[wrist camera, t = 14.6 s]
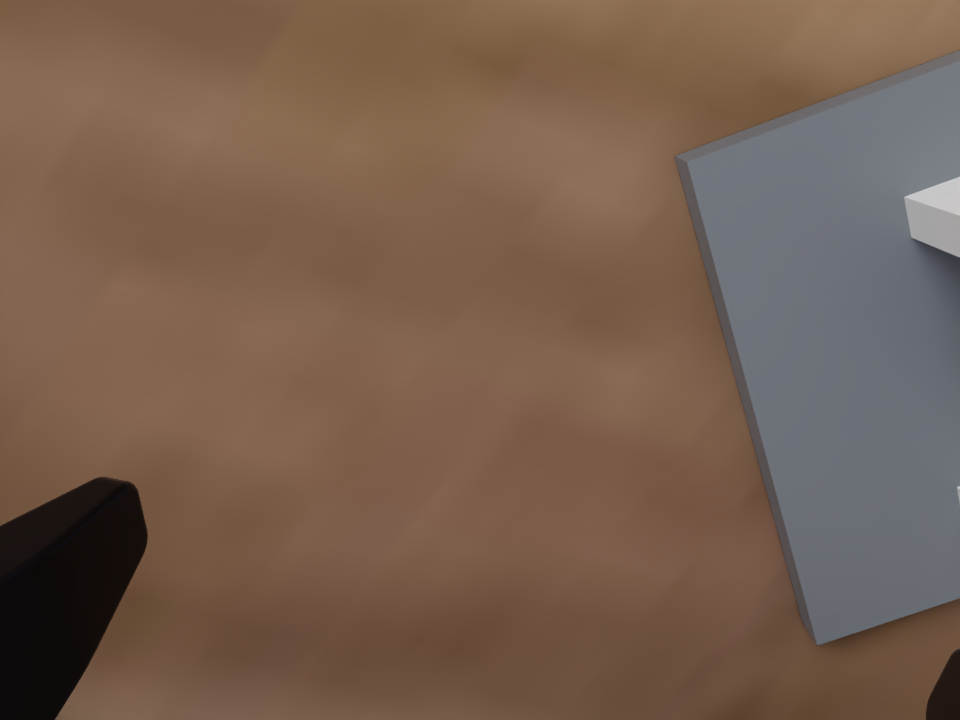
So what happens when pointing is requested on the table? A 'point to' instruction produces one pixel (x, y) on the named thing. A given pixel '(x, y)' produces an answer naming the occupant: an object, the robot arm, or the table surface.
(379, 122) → the table surface
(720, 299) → the can holder
